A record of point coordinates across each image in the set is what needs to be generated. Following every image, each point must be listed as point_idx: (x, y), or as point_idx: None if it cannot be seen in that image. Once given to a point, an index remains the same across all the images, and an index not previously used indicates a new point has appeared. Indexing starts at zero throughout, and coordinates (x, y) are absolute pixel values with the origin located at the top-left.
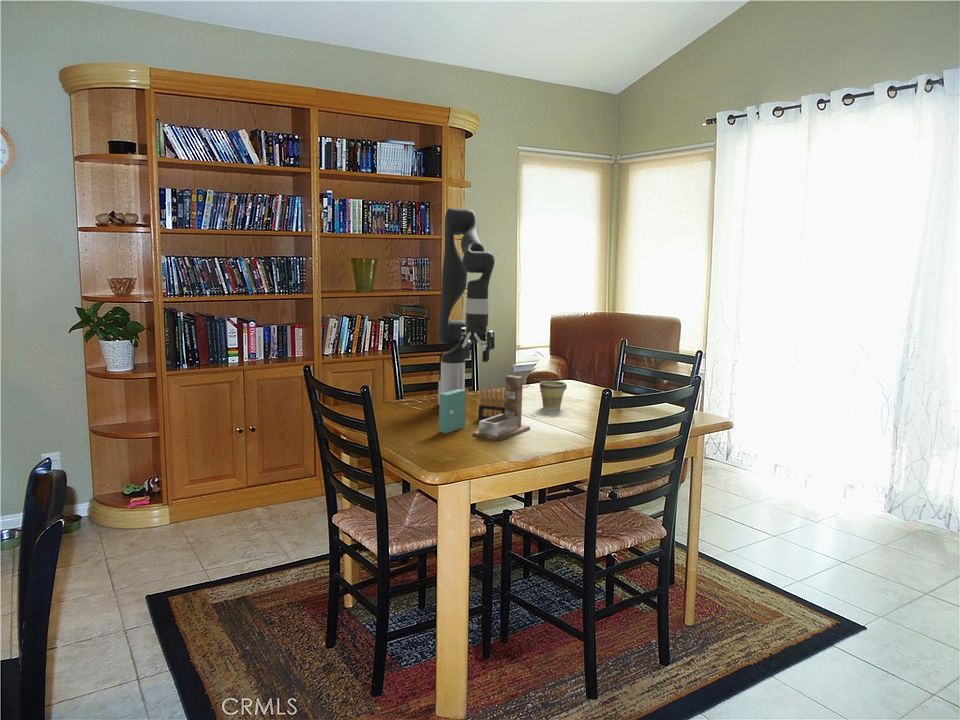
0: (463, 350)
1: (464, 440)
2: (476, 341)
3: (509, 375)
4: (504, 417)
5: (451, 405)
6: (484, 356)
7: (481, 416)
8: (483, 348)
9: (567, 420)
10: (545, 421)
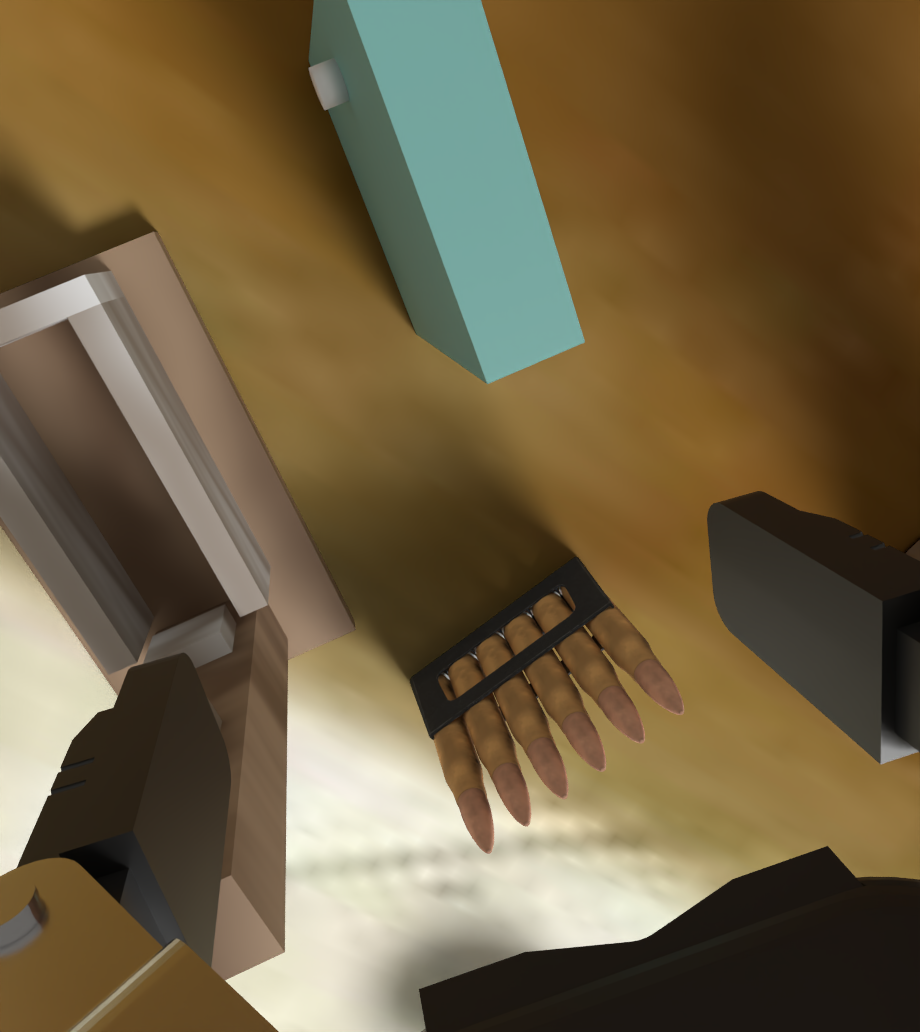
0: (915, 570)
1: (20, 58)
2: (498, 1016)
3: (267, 938)
4: (254, 614)
5: (354, 90)
6: (115, 757)
7: (562, 578)
8: (46, 917)
9: (258, 1006)
10: (297, 892)
